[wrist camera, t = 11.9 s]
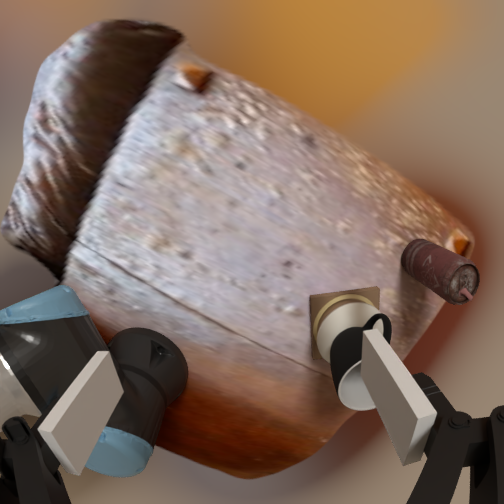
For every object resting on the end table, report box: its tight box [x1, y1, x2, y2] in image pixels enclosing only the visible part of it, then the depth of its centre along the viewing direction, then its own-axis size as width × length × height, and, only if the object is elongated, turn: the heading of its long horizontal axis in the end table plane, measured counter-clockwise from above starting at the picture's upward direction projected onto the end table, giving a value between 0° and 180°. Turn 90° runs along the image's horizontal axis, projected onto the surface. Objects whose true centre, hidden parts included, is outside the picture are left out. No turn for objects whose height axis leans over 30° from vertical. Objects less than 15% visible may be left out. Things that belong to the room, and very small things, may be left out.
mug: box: [330, 313, 392, 410], centre depth 39 cm, size 12×9×10 cm
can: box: [402, 239, 480, 305], centre depth 39 cm, size 6×6×14 cm
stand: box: [310, 286, 383, 363], centre depth 46 cm, size 11×11×5 cm
